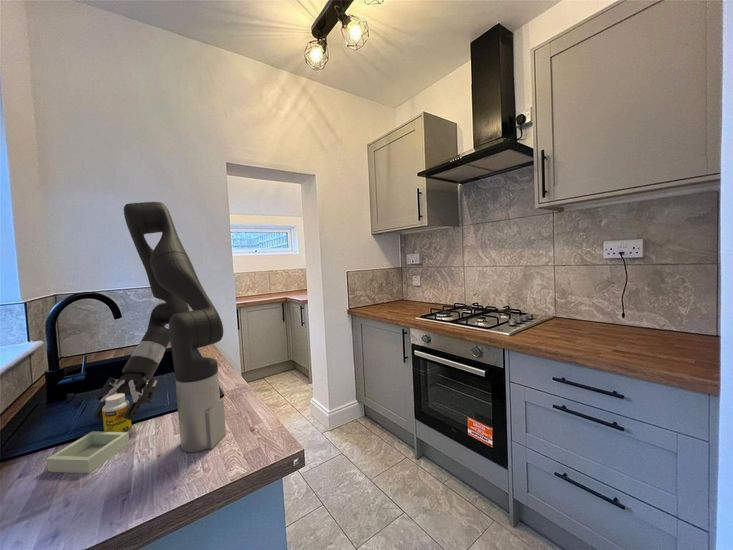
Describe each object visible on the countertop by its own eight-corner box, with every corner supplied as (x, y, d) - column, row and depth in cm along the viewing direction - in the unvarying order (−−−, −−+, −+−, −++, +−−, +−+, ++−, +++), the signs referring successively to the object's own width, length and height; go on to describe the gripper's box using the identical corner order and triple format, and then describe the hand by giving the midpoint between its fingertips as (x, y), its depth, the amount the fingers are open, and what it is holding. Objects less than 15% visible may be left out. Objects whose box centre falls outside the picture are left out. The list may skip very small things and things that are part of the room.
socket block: (129, 443, 75) (128, 432, 74) (89, 473, 65) (87, 460, 64) (93, 442, 75) (92, 431, 75) (48, 471, 66) (46, 458, 65)
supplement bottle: (102, 442, 75) (98, 404, 75) (106, 432, 80) (103, 395, 79) (130, 434, 78) (127, 397, 78) (133, 424, 83) (129, 389, 82)
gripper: (113, 354, 86) (76, 414, 75) (159, 354, 85) (127, 415, 74) (131, 365, 92) (98, 422, 81) (174, 365, 90) (147, 423, 80)
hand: (112, 418), depth 78 cm, fingers open, 8 cm apart
